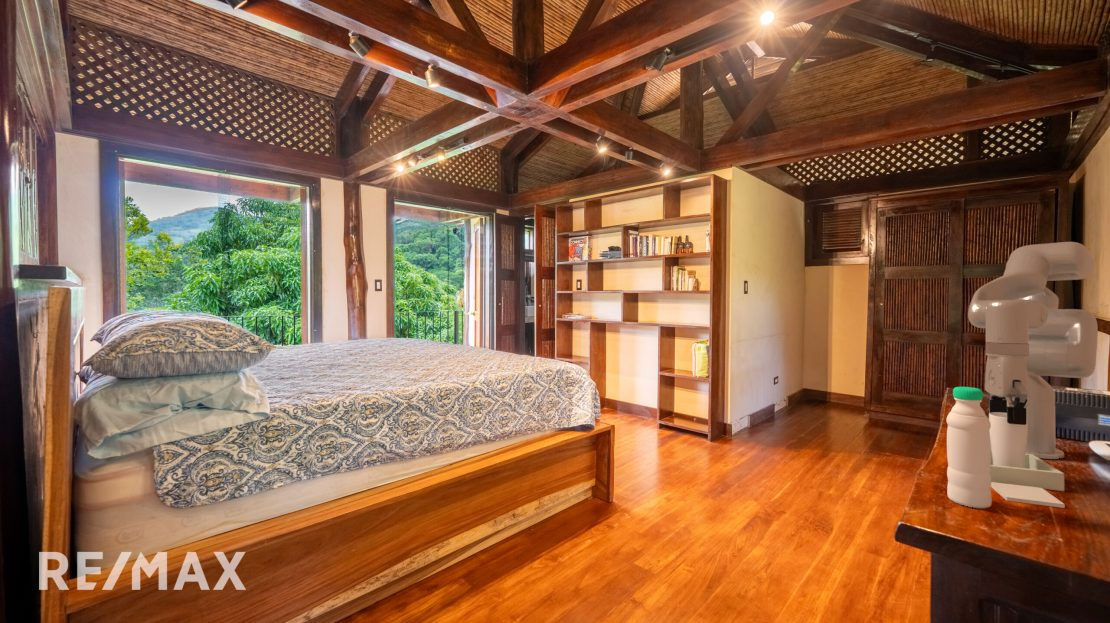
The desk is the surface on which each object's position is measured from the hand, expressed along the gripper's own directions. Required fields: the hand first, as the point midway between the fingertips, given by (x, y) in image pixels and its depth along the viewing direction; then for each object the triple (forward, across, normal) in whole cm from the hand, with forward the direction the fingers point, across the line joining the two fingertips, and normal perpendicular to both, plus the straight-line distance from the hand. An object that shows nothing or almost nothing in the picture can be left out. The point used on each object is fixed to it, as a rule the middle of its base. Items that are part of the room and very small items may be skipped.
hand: (1007, 419), depth 109 cm
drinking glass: (+14, -1, 0) cm, 14 cm away
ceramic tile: (+14, +13, -2) cm, 19 cm away
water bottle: (+15, +21, -14) cm, 29 cm away
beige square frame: (+14, -1, 0) cm, 14 cm away
